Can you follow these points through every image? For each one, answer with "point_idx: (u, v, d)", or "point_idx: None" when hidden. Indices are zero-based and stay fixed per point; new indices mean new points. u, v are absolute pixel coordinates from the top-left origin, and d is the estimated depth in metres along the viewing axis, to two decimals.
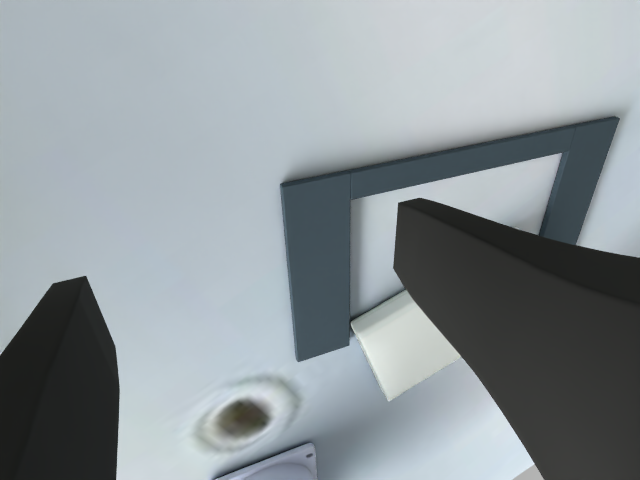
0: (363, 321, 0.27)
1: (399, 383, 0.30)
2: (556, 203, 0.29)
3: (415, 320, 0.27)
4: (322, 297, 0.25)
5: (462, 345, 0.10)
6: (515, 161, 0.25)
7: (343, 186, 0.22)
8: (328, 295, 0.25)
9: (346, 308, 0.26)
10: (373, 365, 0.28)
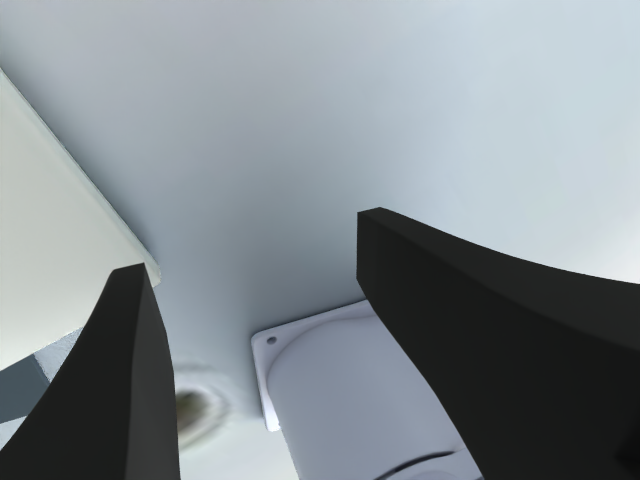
0: None
1: None
2: None
3: None
4: None
5: (420, 360, 0.09)
6: None
7: None
8: None
9: None
10: (44, 345, 0.17)
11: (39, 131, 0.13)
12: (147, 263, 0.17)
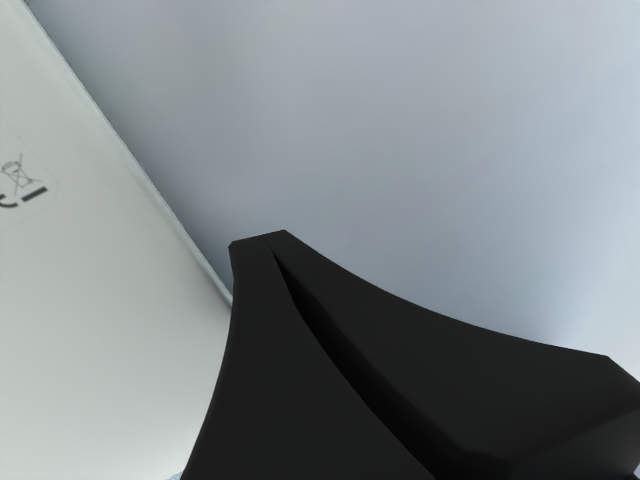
0: None
1: None
2: None
3: None
4: None
5: None
6: None
7: None
8: None
9: None
10: None
11: (169, 222, 0.09)
12: None
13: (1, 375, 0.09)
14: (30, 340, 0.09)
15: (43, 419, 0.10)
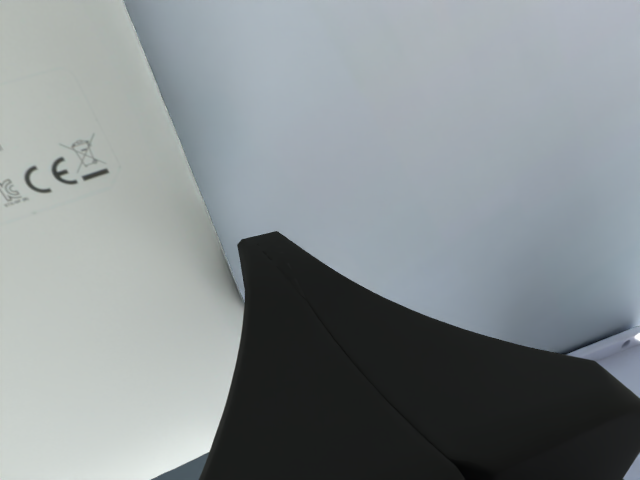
0: None
1: None
2: None
3: None
4: None
5: None
6: None
7: None
8: None
9: (195, 462, 0.14)
10: None
11: (210, 220, 0.09)
12: None
13: (13, 352, 0.09)
14: (52, 319, 0.09)
15: (42, 403, 0.09)
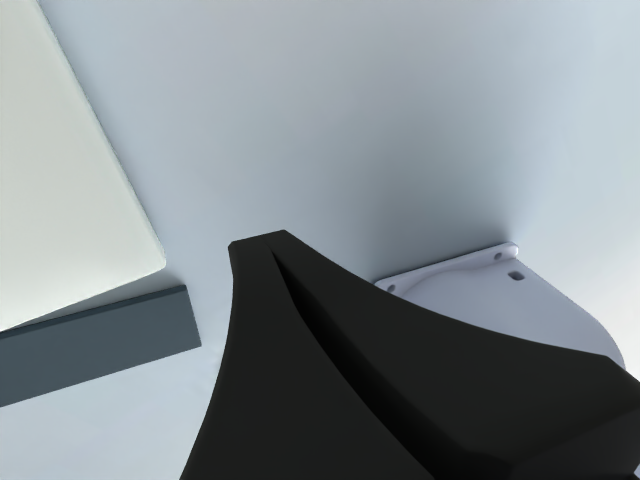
0: None
1: (109, 260, 0.16)
2: None
3: None
4: (83, 351, 0.18)
5: None
6: None
7: None
8: (79, 345, 0.18)
9: (107, 315, 0.18)
10: (29, 318, 0.16)
11: (76, 87, 0.13)
12: (156, 244, 0.16)
13: None
14: None
15: None
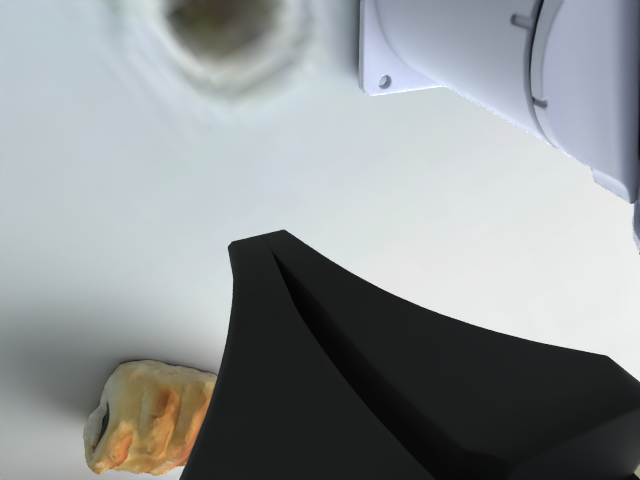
0: None
1: None
2: None
3: None
4: None
5: None
6: None
7: None
8: None
9: None
10: None
11: None
12: None
13: None
14: None
15: None
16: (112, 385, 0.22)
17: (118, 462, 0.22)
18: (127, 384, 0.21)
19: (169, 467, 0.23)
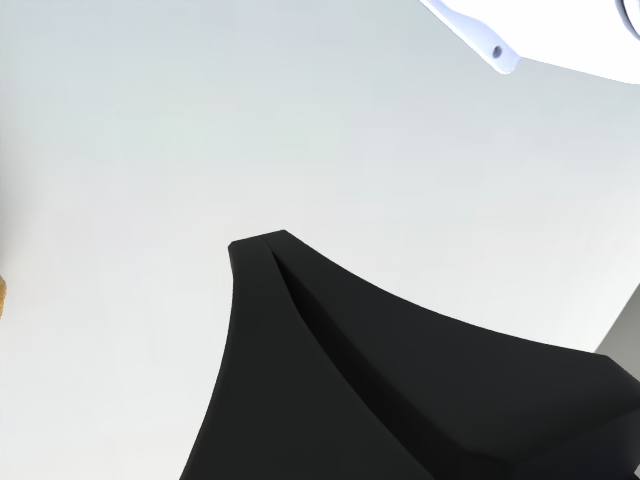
0: None
1: None
2: None
3: None
4: None
5: None
6: None
7: None
8: None
9: None
10: None
11: None
12: None
13: None
14: None
15: None
16: None
17: None
18: None
19: None
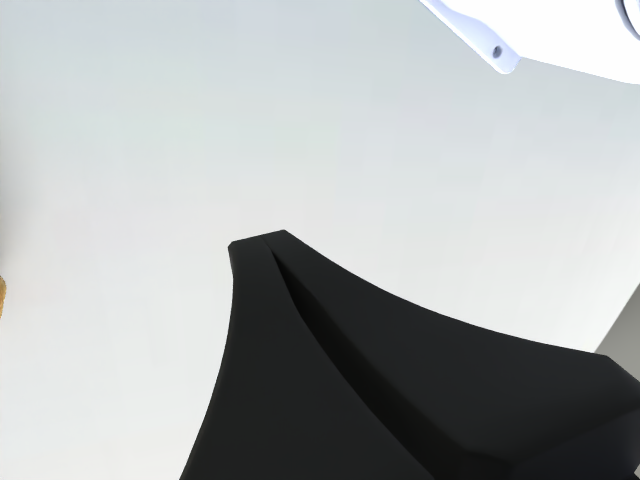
0: None
1: None
2: None
3: None
4: None
5: None
6: None
7: None
8: None
9: None
10: None
11: None
12: None
13: None
14: None
15: None
16: None
17: None
18: None
19: None
